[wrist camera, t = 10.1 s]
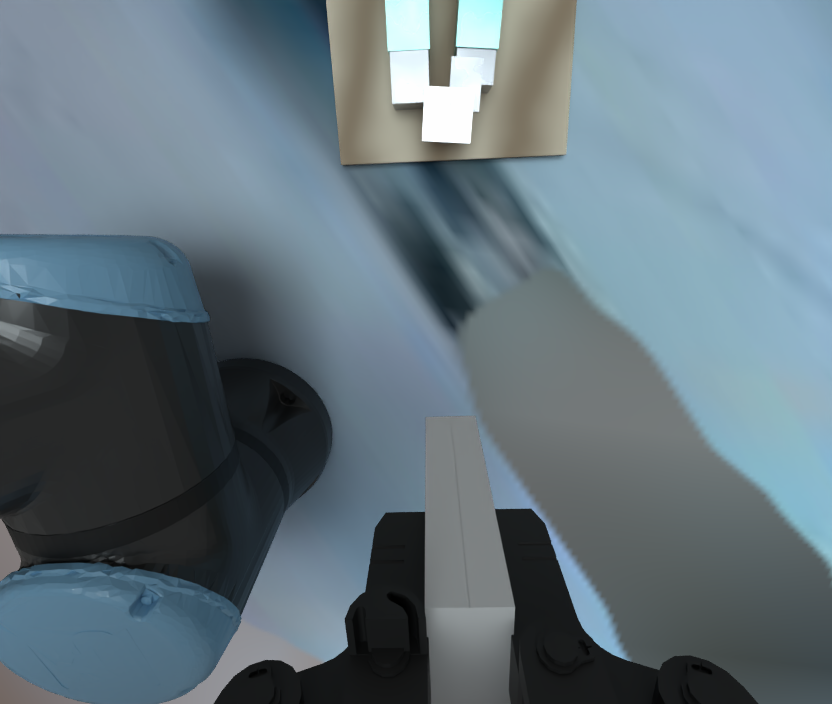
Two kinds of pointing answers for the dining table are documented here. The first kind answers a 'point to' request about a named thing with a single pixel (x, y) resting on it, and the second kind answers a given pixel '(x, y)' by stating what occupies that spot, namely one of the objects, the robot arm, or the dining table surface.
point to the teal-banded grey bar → (408, 51)
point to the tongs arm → (464, 73)
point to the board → (499, 109)
